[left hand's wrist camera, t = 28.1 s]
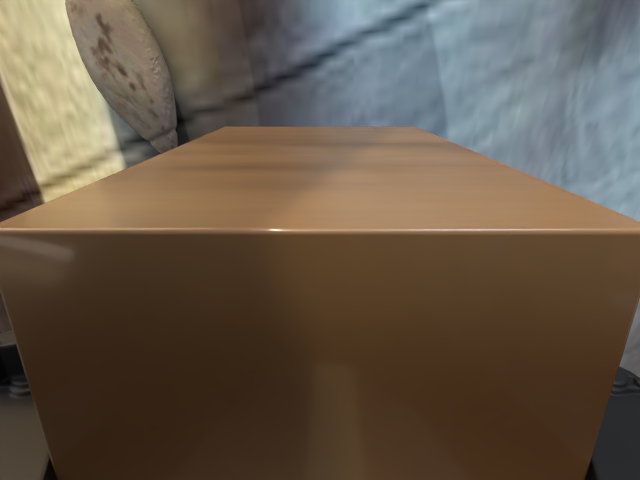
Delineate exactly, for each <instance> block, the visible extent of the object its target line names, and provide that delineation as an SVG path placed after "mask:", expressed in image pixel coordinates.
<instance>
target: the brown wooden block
mask: <svg viewBox="0 0 640 480" xmlns="http://www.w3.org/2000/svg"><path fill="white" fill-rule="evenodd" d="M0 292H1V295H2V298H3V302H4V305H5V308H6V312H7V315H8V318H9V322H10V325H11V329H12V332H13V335H14V339H15V342H16V345H17V349H18V352H19V355H20V359H21V362H22V365H23V369H24V372H25V375H26V379H27V382H28V385H29V389H30V392H31V395H32V399H33V402H34V405H35V409H36V412H37V415H38V419H39V422H40V425H41V429H42V432H43V435H44V439H45V442H46V445H47V449H48V452H49V455H50V459H51V462H52V465H53V469H54V472H55V475H56V479H57V480H585V477H586V474H587V471H588V467H589V464H590V461H591V457H592V454H593V451H594V448H595V444H596V441H597V438H598V434H599V431H600V428H601V424H602V421H603V418H604V414H605V411H606V408H607V404H608V401H609V398H610V394H611V391H612V388H613V385H614V381H615V378H616V375H617V371H618V368H619V365H620V361H621V358H622V355H623V351H624V348H625V345H626V341H627V338H628V335H629V332H630V328H631V325H632V322H633V318H634V315H635V312H636V308H637V305H638V302H639V298H640V222H639V221H637V220H634V219H632V218H630V217H627V216H625V215H623V214H620V213H618V212H616V211H613V210H611V209H608V208H606V207H604V206H601V205H599V204H597V203H594V202H592V201H590V200H587V199H585V198H583V197H580V196H578V195H575V194H573V193H571V192H568V191H566V190H564V189H561V188H559V187H557V186H554V185H552V184H549V183H547V182H545V181H542V180H540V179H538V178H535V177H533V176H531V175H528V174H526V173H524V172H521V171H519V170H516V169H514V168H512V167H509V166H507V165H505V164H502V163H500V162H498V161H495V160H493V159H490V158H488V157H486V156H483V155H481V154H479V153H476V152H474V151H472V150H469V149H467V148H465V147H462V146H460V145H457V144H455V143H453V142H450V141H448V140H446V139H443V138H441V137H439V136H436V135H434V134H432V133H429V132H427V131H424V130H422V129H420V128H417V127H223V128H221V129H219V130H216V131H214V132H212V133H209V134H207V135H205V136H202V137H200V138H198V139H195V140H193V141H191V142H188V143H186V144H183V145H181V146H179V147H176V148H174V149H172V150H169V151H167V152H165V153H162V154H160V155H158V156H155V157H153V158H151V159H148V160H146V161H144V162H141V163H139V164H137V165H134V166H132V167H129V168H127V169H125V170H122V171H120V172H118V173H115V174H113V175H111V176H108V177H106V178H104V179H101V180H99V181H97V182H94V183H92V184H90V185H87V186H85V187H83V188H80V189H78V190H75V191H73V192H71V193H68V194H66V195H64V196H61V197H59V198H57V199H54V200H52V201H50V202H47V203H45V204H43V205H40V206H38V207H36V208H33V209H31V210H29V211H26V212H24V213H21V214H19V215H17V216H14V217H12V218H10V219H7V220H5V221H3V222H0Z"/></svg>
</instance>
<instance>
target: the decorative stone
mask: <svg viewBox="0 0 640 480" xmlns="http://www.w3.org/2000/svg"><path fill="white" fill-rule="evenodd" d="M65 4H66V10H67V15H68V18H69V22H70V27H71V30H72V34H73V37H74V39H75V42H76V45H77V48H78V51H79V53H80V56H81V58H82V61H83V63H84V65H85V67H86V69H87V71H88V73H89V75H90V77H91V79H92V80H93V82H94V84H95V85H96V87H97V89H98V90H99V91H100V93H101V94H102V95H103V97H104V98H105V100H106V101H107V102H108V104H109V105H110V106H111V107H112V108H113V109H114V110H115V111H116V113H117V114H118V115H119V116H120V118H122V119H123V120H124V121H125V122H126V123H128V124H129V125H130V126H131V127H132V128H133V129H134V130H135V131H136V132H137V133H138V134H139V135H140V136H141V137H143V138H144V139H146V140H148V141H150V143H151V145H152V146H153V147H154V148H155V149H156V150H157V151H158V152H160V153H161V154H162V153H165V152H167V151H169V150H172V149H174V148H176V147H178V142H177V132H176V130H175V129H176V127H177V118H176V106H175V98H174V91H173V86H172V81H171V77H170V74H169V71H168V67H167V65H166V62H165V60H164V57H163V55H162V53H161V50H160V48H159V46H158V44H157V42H156V39H155V37H154V35H153V33H152V32H151V30H150V29H149V27H148V25H147V23H146V22H145V20H144V19H143V17H142V15H141V14H140V12H139V11H138V10H137V8H136V7H135V5H134V4H133V2H132V1H131V0H66V3H65Z"/></svg>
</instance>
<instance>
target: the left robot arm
mask: <svg viewBox="0 0 640 480" xmlns="http://www.w3.org/2000/svg"><path fill="white" fill-rule="evenodd" d="M0 480H57V479H56V475H55V472H54V469H53V465H52V462H51V459H50V455H49V452H48V449H47V445H46V442H45V439H44V435H43V432H42V429H41V425H40V422H39V419H38V415H37V412H36V409H35V405H34V402H33V399H32V395H31V392H30V389H29V385H28V382H27V379H26V375H25V372H24V369H23V365H22V362H21V359H20V355H19V352H18V349H17V345H16V342H15V339H14V335H13V332H12V329H11V330H8V331H5V332H3V333H0ZM585 480H640V378H639V377H637V376H636V375H634V374H633V373H632V372H630V371H628V370H626V369H623V368H621V367H619V368H618V371H617V375H616V378H615V381H614V385H613V388H612V391H611V394H610V398H609V401H608V404H607V408H606V411H605V414H604V418H603V421H602V424H601V428H600V431H599V434H598V438H597V441H596V444H595V448H594V451H593V454H592V457H591V461H590V464H589V467H588V471H587V474H586V477H585Z"/></svg>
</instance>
